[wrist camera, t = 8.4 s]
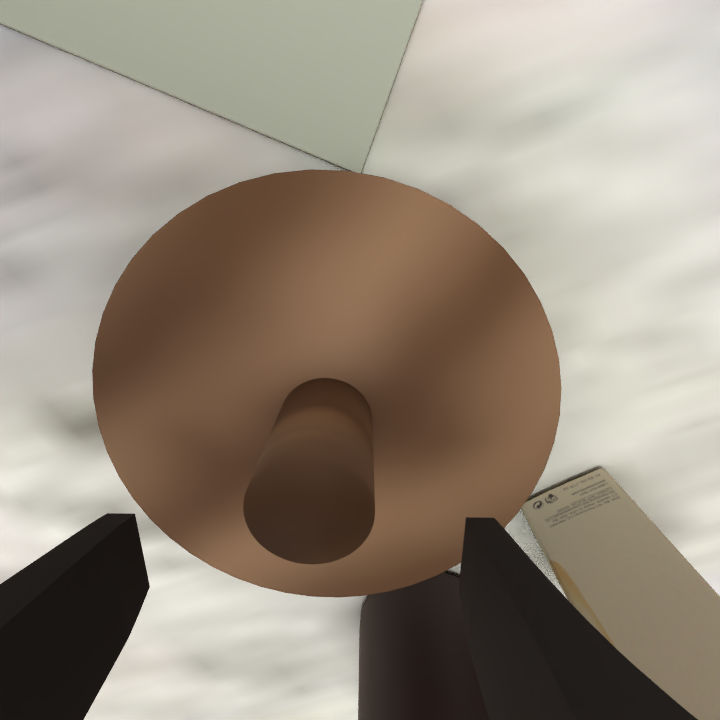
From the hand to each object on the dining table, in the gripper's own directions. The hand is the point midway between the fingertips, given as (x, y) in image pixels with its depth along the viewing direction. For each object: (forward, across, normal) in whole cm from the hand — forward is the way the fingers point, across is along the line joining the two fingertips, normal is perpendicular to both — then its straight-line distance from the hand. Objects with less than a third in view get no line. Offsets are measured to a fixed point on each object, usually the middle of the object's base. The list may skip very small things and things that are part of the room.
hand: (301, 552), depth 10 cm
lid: (+6, 0, -1) cm, 6 cm away
